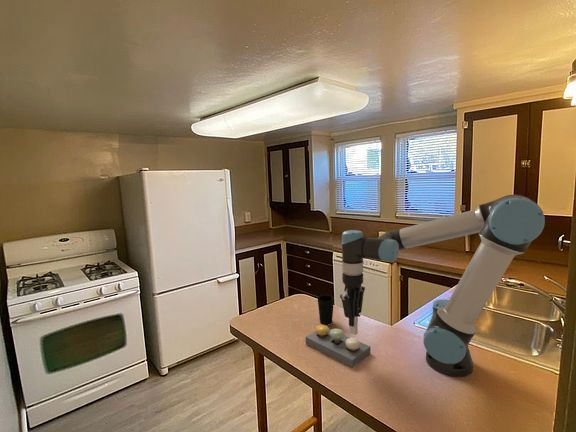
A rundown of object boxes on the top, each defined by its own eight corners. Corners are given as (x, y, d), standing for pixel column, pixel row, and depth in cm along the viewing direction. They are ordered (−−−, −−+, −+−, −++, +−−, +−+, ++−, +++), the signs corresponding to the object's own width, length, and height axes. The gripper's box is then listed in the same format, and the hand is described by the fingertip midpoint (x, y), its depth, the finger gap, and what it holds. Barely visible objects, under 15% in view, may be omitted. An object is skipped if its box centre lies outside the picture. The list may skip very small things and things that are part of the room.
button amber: (331, 337, 128) (331, 327, 127) (323, 342, 125) (323, 332, 124) (321, 333, 132) (321, 323, 131) (313, 337, 128) (313, 328, 128)
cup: (323, 317, 150) (323, 293, 148) (337, 321, 145) (337, 297, 144) (314, 323, 144) (314, 298, 143) (328, 327, 139) (328, 302, 138)
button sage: (346, 341, 123) (346, 331, 122) (338, 347, 119) (338, 336, 118) (335, 337, 126) (335, 327, 126) (327, 342, 123) (327, 332, 122)
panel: (370, 353, 119) (370, 346, 118) (352, 367, 111) (352, 360, 110) (324, 332, 135) (324, 326, 135) (305, 343, 127) (305, 336, 127)
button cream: (362, 351, 117) (362, 341, 117) (354, 357, 114) (354, 346, 113) (351, 346, 121) (351, 336, 120) (343, 352, 117) (343, 341, 117)
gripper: (354, 266, 120) (354, 323, 123) (333, 274, 111) (334, 336, 114) (371, 270, 115) (371, 329, 118) (350, 279, 106) (351, 343, 109)
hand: (353, 332), depth 116 cm, fingers closed
